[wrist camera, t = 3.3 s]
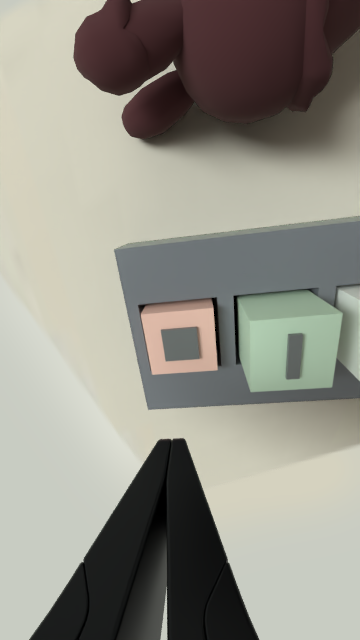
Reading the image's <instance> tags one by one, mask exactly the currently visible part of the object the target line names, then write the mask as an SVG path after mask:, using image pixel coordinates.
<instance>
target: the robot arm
mask: <svg viewBox="0 0 360 640" xmlns="http://www.w3.org/2000/svg"><path fill="white" fill-rule="evenodd" d="M166 587H167V635H168V636H167V637H168V640H259V638H258V636H257V633H256V631H255V629H254V627H253V625H252V622H251V620H250V617H249V615H248V612H247V610H246V608H245V605H244V602H243V599H242V597H241V594H240V591H239V589H238V586H237V584H236V581H235V578H234V575H233V572H232V570H231V567H230V564H229V563H228V559H227V556H226V553H225V551H224V548H223V545H222V542H221V539H220V536H219V534H218V530H217V528H216V525H215V522H214V519H213V516H212V514H211V511H210V508H209V505H208V502H207V500H206V497H205V494H204V491H203V488H202V485H201V483H200V480H199V477H198V474H197V471H196V469H195V466H194V463H193V460H192V457H191V454H190V452H189V449H188V446H187V443H186V441H185V439H184V438H179V439H173V440H171V439H160V440H158V442H157V443H156V445H155V446H154V448H153V449H152V451H151V453H150V454H149V456H148V457H147V459H146V461H145V462H144V464H143V465H142V467H141V468H140V470H139V472H138V473H137V475H136V477H135V478H134V480H133V481H132V483H131V484H130V486H129V487H128V489H127V491H126V492H125V494H124V496H123V497H122V499H121V500H120V502H119V503H118V505H117V507H116V508H115V510H114V511H113V513H112V514H111V516H110V518H109V519H108V521H107V522H106V524H105V526H104V527H103V529H102V530H101V532H100V534H99V535H98V537H97V538H96V540H95V541H94V543H93V545H92V546H91V548H90V549H89V551H88V553H87V554H86V556H85V557H84V562H82V563H80V565H79V567H78V568H77V570H76V571H75V573H74V574H73V576H72V578H71V579H70V581H69V582H68V584H67V585H66V587H65V588H64V590H63V592H62V593H61V595H60V596H59V598H58V599H57V601H56V602H55V604H54V605H53V607H52V608H51V610H50V611H49V613H48V614H47V615H46V617H45V618H44V620H43V621H42V622H41V624H40V625H39V627H38V628H37V629H36V631H35V632H34V634H33V635H32V636H31V638H30V639H29V640H160V637H161V628H162V621H163V612H164V603H165V595H166Z"/></svg>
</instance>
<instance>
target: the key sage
mask: <svg viewBox="0 0 360 640" xmlns="http://www.w3.org/2000/svg"><path fill="white" fill-rule="evenodd" d="M342 316H343V313H342V312H340V311H339V310H337V309H336V308H334V307H333V306H331V305H330V304H328V303H327V302H325V301H324V300H322V299H321V298H319V297H318V296H316V295H315V294H313V293H312V292H310V291H309V290H307V289H304V290H294V291H283V292H273V293H262V294H251V295H241V296H237V321H238V354H239V357H240V360H241V364H242V367H243V370H244V373H245V376H246V379H247V382H248V386H249V389H250V392H263V391H280V390H297V389H314V388H331V387H332V385H333V378H334V371H335V364H336V357H337V350H338V344H339V337H340V330H341V323H342Z"/></svg>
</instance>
